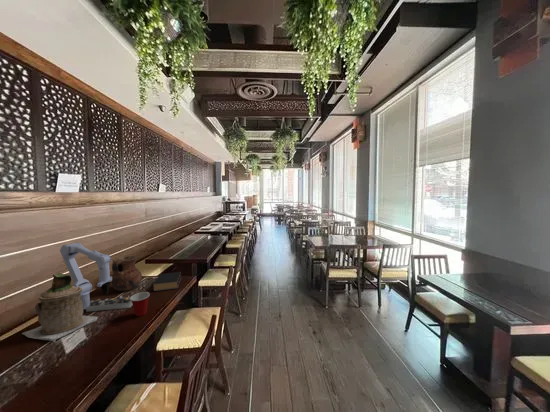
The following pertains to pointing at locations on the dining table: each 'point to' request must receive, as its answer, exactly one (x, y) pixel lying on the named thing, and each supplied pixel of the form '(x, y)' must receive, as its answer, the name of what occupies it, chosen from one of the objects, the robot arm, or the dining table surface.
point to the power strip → (109, 305)
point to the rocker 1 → (95, 301)
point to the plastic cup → (140, 303)
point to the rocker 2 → (109, 300)
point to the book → (167, 281)
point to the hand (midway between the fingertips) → (105, 293)
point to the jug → (125, 273)
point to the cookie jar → (59, 310)
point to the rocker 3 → (123, 298)
